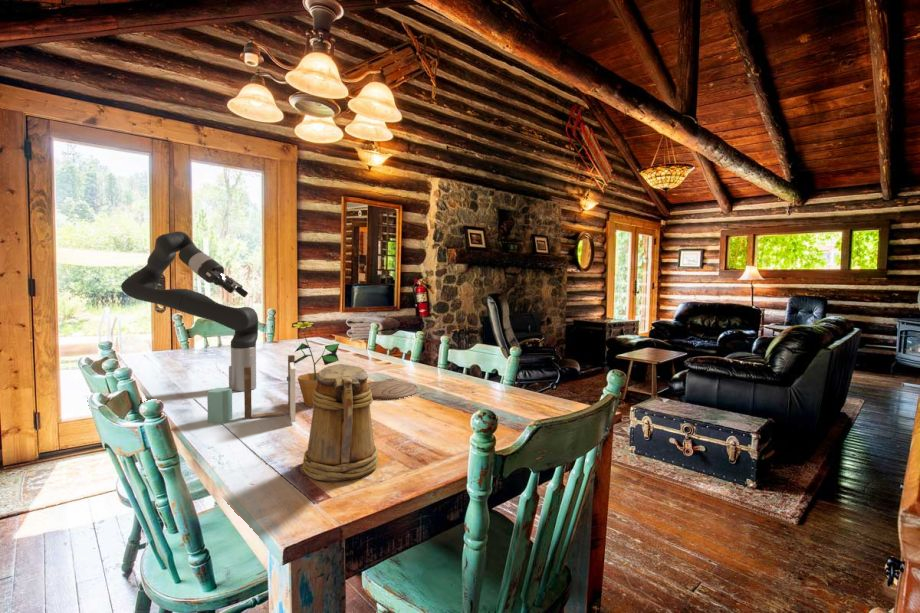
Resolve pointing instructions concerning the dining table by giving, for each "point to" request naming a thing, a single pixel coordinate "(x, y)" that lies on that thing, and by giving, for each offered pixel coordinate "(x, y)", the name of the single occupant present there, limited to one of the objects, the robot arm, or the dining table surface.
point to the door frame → (248, 394)
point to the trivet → (392, 389)
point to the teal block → (219, 405)
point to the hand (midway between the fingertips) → (239, 293)
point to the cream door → (292, 391)
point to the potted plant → (310, 380)
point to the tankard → (341, 426)
